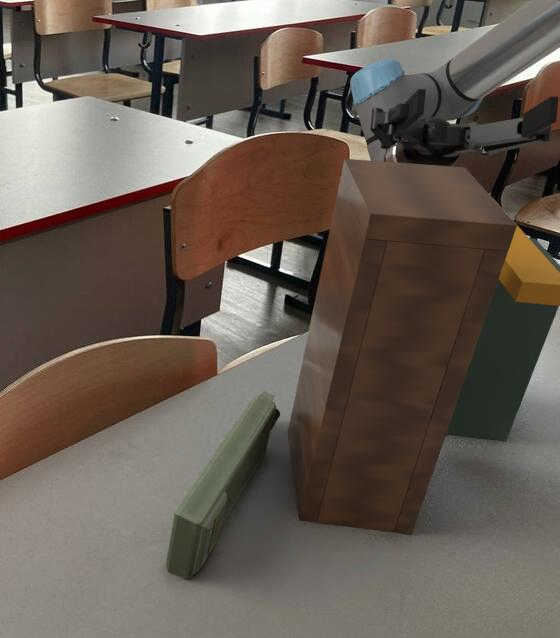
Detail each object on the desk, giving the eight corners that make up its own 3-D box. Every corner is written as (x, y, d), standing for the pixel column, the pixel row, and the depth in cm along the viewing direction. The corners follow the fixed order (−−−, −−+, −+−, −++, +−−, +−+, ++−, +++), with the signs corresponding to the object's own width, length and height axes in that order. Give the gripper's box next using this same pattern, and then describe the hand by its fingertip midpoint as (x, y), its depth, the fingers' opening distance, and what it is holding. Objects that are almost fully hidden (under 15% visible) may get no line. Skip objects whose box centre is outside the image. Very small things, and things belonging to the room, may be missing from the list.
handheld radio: (158, 567, 64) (257, 415, 83) (194, 585, 63) (286, 427, 82) (168, 510, 61) (268, 365, 79) (206, 527, 59) (299, 376, 78)
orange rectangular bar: (486, 213, 84) (491, 196, 83) (563, 306, 65) (571, 285, 64) (448, 210, 85) (453, 193, 84) (514, 301, 66) (522, 281, 65)
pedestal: (480, 392, 88) (535, 238, 78) (506, 441, 80) (570, 276, 71) (391, 383, 89) (435, 230, 80) (408, 430, 82) (458, 266, 72)
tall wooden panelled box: (384, 444, 79) (465, 167, 64) (412, 534, 68) (517, 225, 53) (287, 432, 81) (344, 158, 66) (299, 519, 69) (370, 213, 55)
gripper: (517, 186, 101) (607, 147, 80) (325, 172, 105) (364, 131, 84) (522, 130, 102) (613, 77, 80) (331, 118, 105) (370, 64, 84)
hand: (486, 105), depth 82 cm, fingers open, 13 cm apart
